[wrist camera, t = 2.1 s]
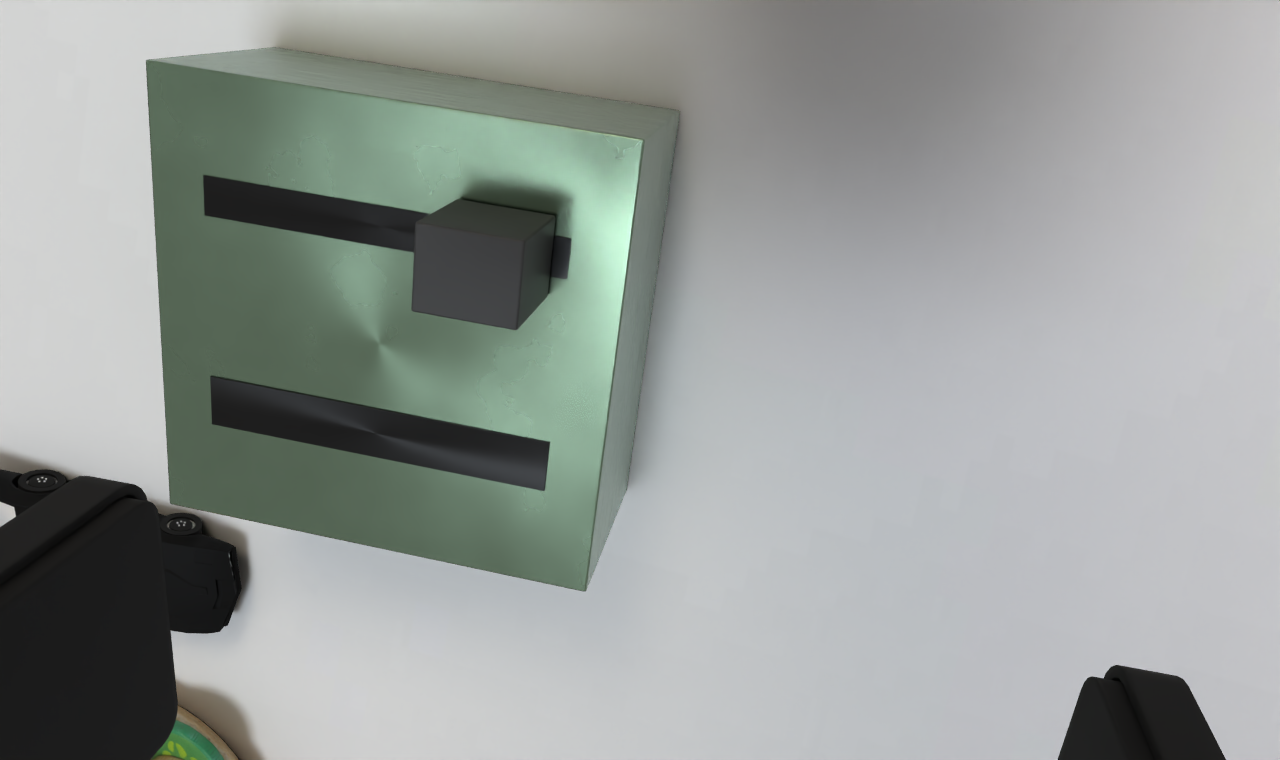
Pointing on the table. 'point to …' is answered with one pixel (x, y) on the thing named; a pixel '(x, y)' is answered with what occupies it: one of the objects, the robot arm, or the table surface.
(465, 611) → the table surface
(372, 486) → the toaster
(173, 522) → the toy car
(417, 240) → the slider
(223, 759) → the toy food set
